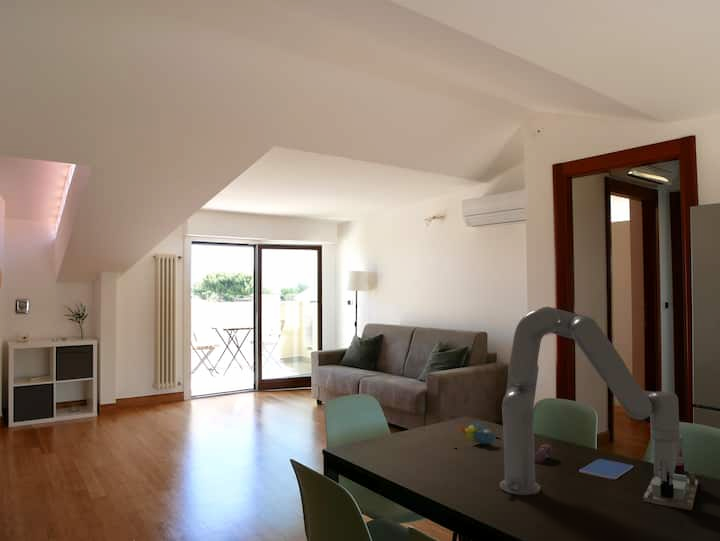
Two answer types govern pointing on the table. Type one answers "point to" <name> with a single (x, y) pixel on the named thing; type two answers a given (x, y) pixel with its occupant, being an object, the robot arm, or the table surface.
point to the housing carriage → (678, 486)
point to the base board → (685, 504)
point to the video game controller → (543, 452)
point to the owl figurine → (479, 434)
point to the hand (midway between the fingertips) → (667, 496)
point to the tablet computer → (606, 469)
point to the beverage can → (679, 457)
